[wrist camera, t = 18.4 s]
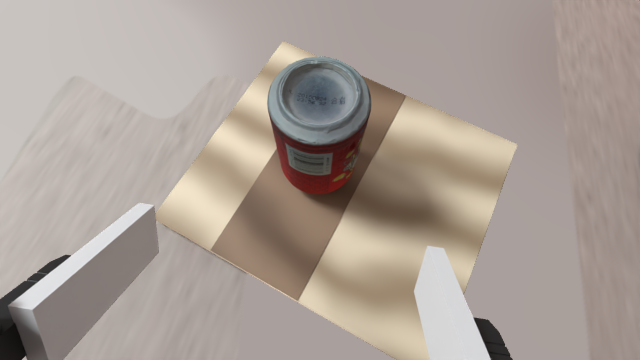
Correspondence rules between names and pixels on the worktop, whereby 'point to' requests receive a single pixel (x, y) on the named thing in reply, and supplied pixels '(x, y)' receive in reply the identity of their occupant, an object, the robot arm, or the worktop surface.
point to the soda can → (318, 122)
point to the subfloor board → (346, 209)
